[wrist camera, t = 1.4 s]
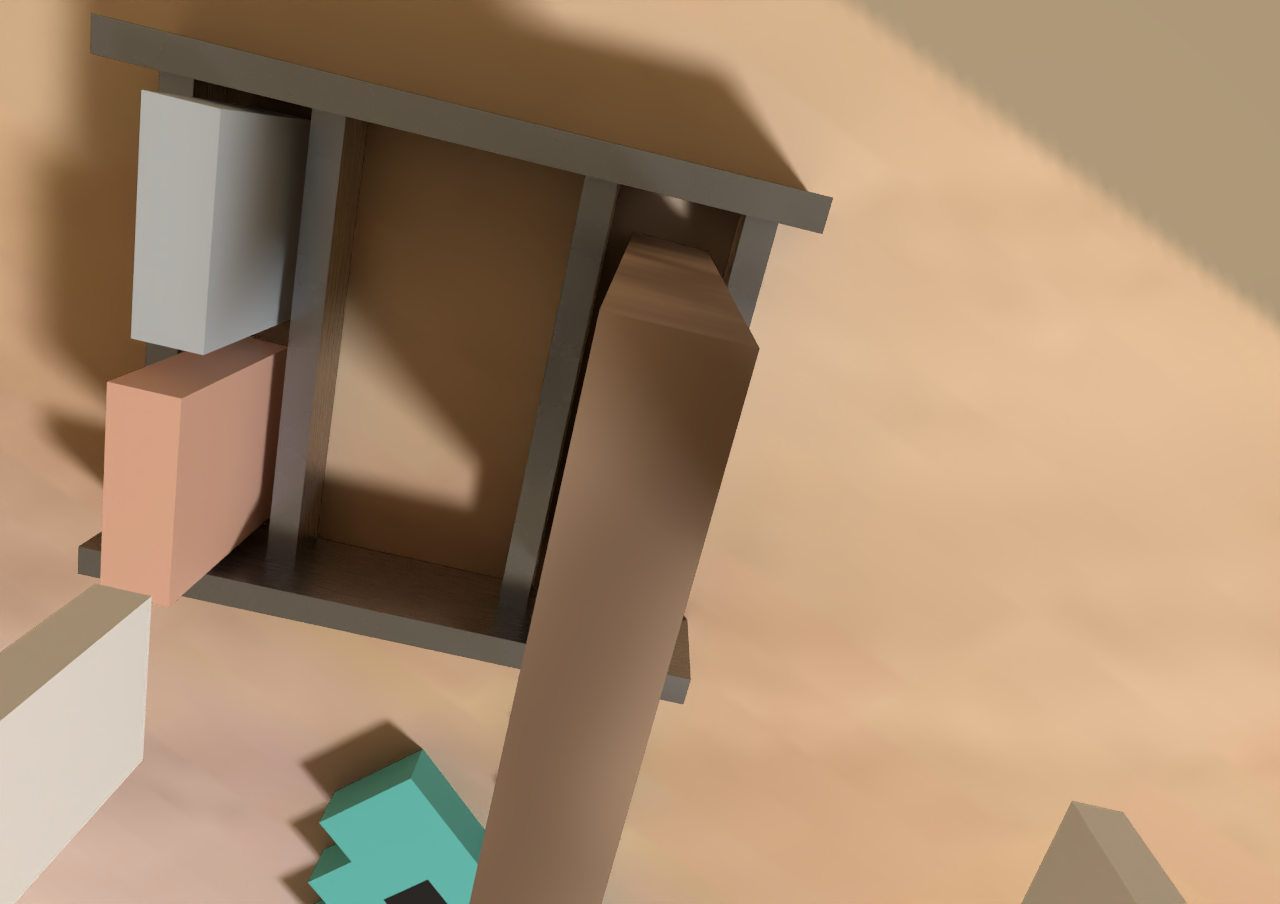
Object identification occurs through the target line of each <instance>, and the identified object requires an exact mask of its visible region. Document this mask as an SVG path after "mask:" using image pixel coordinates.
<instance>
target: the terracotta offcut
mask: <svg viewBox="0 0 1280 904" xmlns="http://www.w3.org/2000/svg"><path fill="white" fill-rule="evenodd" d="M287 350H288V346H284V345H280V344H275V343H271V342H267V341H262V340H258V339H254V338H250V337H246V338H244V339H242V340H239V341H237V342H234V343H232V344H229V345H227V346H224V347H222V348H220V349H217V350H215V351H212V352H210V353H207V354H205V355H200V354H196V353H192V352H187V351H185V352H182V353H180V354H177V355H175V356H172V357H169V358H167V359H164V360H162V361H159V362H156V363H154V364H151V365H149V366H146V367H144V368H141V369H138V370H136V371H133V372H131V373H128V374H126V375H123V376H120V377H118V378H115V379H113V380H110V381H107V395H106V425H105V455H104V484H103V514H102V544H101V573H100V585H104V586H108V587H113V588H117V589H122V590H126V591H131V592H135V593H140V594H144V595H149V596H152V600H151V604H155V605H160V606H164V607H169V606H171V605H172V604H173V603H174V602H175V601H176V600H177V599H178V598H179V597H181V596H182V595H183V594H184V593H185V592H186V591H187V590H188V589H190V588H191V587H192V586H193V585H194V584H195V583H196V582H197V581H199V580H200V579H201V578H202V577H203V576H204V575H205V574H206V573H207V572H209V571H210V570H211V569H212V568H213V567H214V566H215V565H216V564H218V563H219V562H220V561H221V560H222V559H223V558H224V557H225V556H227V555H228V554H229V553H230V552H231V551H232V550H233V549H234V548H235V547H237V546H238V545H239V544H240V543H241V542H242V541H243V540H244V539H246V538H247V537H248V536H249V535H250V534H251V533H252V532H253V531H255V530H256V529H257V528H258V527H259V526H260V525H261V524H262V523H263V522H265V521H266V520H267V519H268V518H269V517H270V516H271V506H272V496H273V486H274V477H275V467H276V457H277V447H278V438H279V428H280V418H281V408H282V399H283V389H284V379H285V369H286V360H287Z"/></svg>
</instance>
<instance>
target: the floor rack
mask: <svg viewBox="0 0 1280 904" xmlns="http://www.w3.org/2000/svg"><path fill="white" fill-rule="evenodd" d="M90 53H91V54H95V55H99V56H103V57H107V58H111V59H115V60H119V61H123V62H127V63H131V64H135V65H140V66H144V67H148V68H152V69H156V70H160V72H159V92H162V93H168V94H175V95H182V96H188V97H195V98H202V99H208V100H215V101H222V102H226V90H227V87H229V88H233V89H237V90H241V91H245V92H249V93H253V94H257V95H261V96H265V97H269V98H273V99H277V100H281V101H286V102H290V103H294V104H298V105H302V106H306V107H310V108H312V116H311V126H310V135H309V145H308V155H307V165H306V174H305V184H304V194H303V204H302V213H301V223H300V233H299V243H298V252H297V262H296V272H295V282H294V291H293V301H292V311H291V321H290V330H289V340H288V350H287V360H286V369H285V379H284V389H283V399H282V408H281V418H280V428H279V438H278V447H277V457H276V467H275V477H274V486H273V496H272V506H271V516H270V525H269V527H265V526H261V525H260V526H259V527H258V528H257V529H256V530H255V531H253V532H252V533H251V534H250V535H249V536H248V537H247V538H246V539H244V540H243V541H242V542H241V543H240V544H239V545H238V546H237V547H235V548H234V549H233V550H232V551H231V552H230V553H229V554H228V555H227V556H225V557H224V558H223V559H222V560H221V561H220V562H219V563H218V564H216V565H215V566H214V567H213V568H212V569H211V570H210V571H209V572H207V573H206V574H205V575H204V576H203V577H202V578H201V579H200V580H199V581H197V582H196V583H195V584H194V585H193V586H192V587H191V588H190V589H188V590H187V591H186V592H185V593H184V594H183V595H182V596H184V597H189V598H193V599H198V600H203V601H207V602H212V603H217V604H221V605H226V606H230V607H235V608H240V609H244V610H249V611H254V612H258V613H263V614H267V615H272V616H277V617H281V618H286V619H291V620H295V621H300V622H305V623H309V624H314V625H318V626H323V627H328V628H332V629H337V630H342V631H346V632H351V633H355V634H360V635H365V636H369V637H374V638H379V639H383V640H388V641H392V642H397V643H402V644H406V645H411V646H416V647H420V648H425V649H429V650H434V651H439V652H443V653H448V654H453V655H457V656H462V657H467V658H471V659H476V660H480V661H485V662H490V663H494V664H499V665H504V666H508V667H513V668H517V669H521V665H522V661H523V656H524V652H525V647H526V643H527V638H528V633H529V629H530V624H531V620H532V615H533V611H534V606H535V602H536V597H537V593H538V588H539V587H536V586H533V585H534V580H535V575H536V571H537V566H538V562H539V557H540V552H541V548H542V543H543V539H544V534H545V529H546V525H547V520H548V516H549V511H550V506H551V502H552V497H553V492H554V488H555V483H556V479H557V474H558V469H559V465H560V460H561V456H562V451H563V446H564V442H565V437H566V433H567V428H568V423H569V419H570V414H571V410H572V405H573V400H574V396H575V391H576V387H577V382H578V377H579V373H580V368H581V364H582V359H583V354H584V350H585V345H586V341H587V336H588V331H589V327H590V322H591V317H592V313H593V308H594V304H595V299H596V294H597V290H598V285H599V281H600V276H601V271H602V267H603V262H604V258H605V253H606V248H607V244H608V239H609V235H610V230H611V225H612V221H613V216H614V212H615V207H616V202H617V198H618V193H619V189H620V184H622V185H626V186H630V187H634V188H638V189H642V190H646V191H650V192H654V193H659V194H663V195H667V196H671V197H675V198H679V199H683V200H687V201H691V202H695V203H699V204H703V205H707V206H711V207H715V208H719V209H723V210H727V211H732V212H736V213H740V217H739V220H738V224H737V228H736V232H735V235H734V239H733V243H732V247H731V251H730V254H729V258H728V262H727V266H726V270H725V273H724V277H723V281H724V283H725V285H726V287H727V289H728V290H729V292H730V294H731V296H732V298H733V300H734V302H735V304H736V305H737V307H738V309H739V311H740V313H741V315H742V317H743V318H744V320H745V322H746V324H747V326H748V328H749V327H750V323H751V320H752V316H753V312H754V309H755V305H756V302H757V298H758V294H759V291H760V287H761V284H762V280H763V276H764V273H765V269H766V266H767V262H768V259H769V255H770V251H771V248H772V244H773V241H774V237H775V233H776V230H777V226H778V223H780V224H784V225H788V226H792V227H796V228H800V229H805V230H809V231H813V232H817V233H821V234H823V230H824V227H825V223H826V220H827V217H828V213H829V210H830V207H831V203H832V200H833V198H832V197H828V196H824V195H820V194H816V193H812V192H808V191H804V190H800V189H795V188H791V187H787V186H783V185H779V184H775V183H771V182H767V181H763V180H759V179H755V178H751V177H747V176H743V175H739V174H735V173H731V172H727V171H723V170H719V169H715V168H711V167H707V166H703V165H699V164H695V163H691V162H687V161H683V160H679V159H675V158H671V157H667V156H663V155H659V154H655V153H651V152H647V151H643V150H639V149H635V148H631V147H627V146H623V145H619V144H615V143H611V142H607V141H603V140H599V139H595V138H591V137H587V136H583V135H579V134H575V133H571V132H567V131H563V130H559V129H555V128H550V127H546V126H542V125H538V124H534V123H530V122H526V121H522V120H518V119H514V118H510V117H506V116H502V115H498V114H494V113H490V112H486V111H482V110H478V109H474V108H470V107H466V106H462V105H458V104H454V103H450V102H446V101H442V100H438V99H434V98H430V97H426V96H422V95H418V94H414V93H410V92H406V91H402V90H398V89H394V88H390V87H386V86H382V85H378V84H374V83H370V82H366V81H362V80H358V79H354V78H350V77H346V76H342V75H338V74H334V73H330V72H326V71H322V70H318V69H314V68H310V67H306V66H301V65H297V64H293V63H289V62H285V61H281V60H277V59H273V58H269V57H265V56H261V55H257V54H253V53H249V52H245V51H241V50H237V49H233V48H229V47H225V46H221V45H217V44H213V43H209V42H205V41H201V40H197V39H193V38H189V37H185V36H181V35H177V34H173V33H169V32H165V31H161V30H157V29H153V28H149V27H145V26H141V25H137V24H133V23H129V22H125V21H121V20H117V19H113V18H109V17H105V16H101V15H97V14H93V13H91V45H90ZM368 122H371V123H375V124H379V125H383V126H387V127H391V128H395V129H399V130H403V131H407V132H411V133H415V134H419V135H423V136H427V137H431V138H436V139H440V140H444V141H448V142H452V143H456V144H460V145H464V146H468V147H472V148H476V149H480V150H484V151H488V152H492V153H496V154H500V155H504V156H509V157H513V158H517V159H521V160H525V161H529V162H533V163H537V164H541V165H545V166H549V167H553V168H557V169H561V170H565V171H569V172H573V173H577V174H582V175H585V179H584V184H583V189H582V194H581V199H580V204H579V209H578V214H577V219H576V224H575V228H574V233H573V238H572V243H571V248H570V253H569V258H568V263H567V268H566V273H565V278H564V282H563V287H562V292H561V297H560V302H559V307H558V312H557V317H556V322H555V327H554V332H553V336H552V341H551V346H550V351H549V356H548V361H547V366H546V371H545V376H544V381H543V386H542V390H541V395H540V400H539V405H538V410H537V415H536V420H535V425H534V430H533V435H532V440H531V444H530V449H529V454H528V459H527V464H526V469H525V474H524V479H523V484H522V489H521V494H520V498H519V503H518V508H517V513H516V518H515V523H514V528H513V533H512V538H511V543H510V548H509V552H508V557H507V562H506V567H505V572H504V577H503V579H500V578H496V577H491V576H487V575H482V574H478V573H473V572H469V571H464V570H460V569H455V568H451V567H446V566H441V565H437V564H432V563H428V562H423V561H419V560H414V559H410V558H405V557H401V556H396V555H392V554H387V553H383V552H378V551H374V550H369V549H365V548H360V547H356V546H351V545H347V544H342V543H338V542H333V541H328V540H324V539H319V538H317V531H318V523H319V515H320V507H321V499H322V491H323V483H324V474H325V466H326V458H327V450H328V442H329V434H330V426H331V417H332V409H333V401H334V393H335V385H336V377H337V369H338V360H339V352H340V344H341V336H342V328H343V320H344V311H345V303H346V295H347V287H348V279H349V271H350V263H351V254H352V246H353V238H354V230H355V222H356V214H357V206H358V197H359V189H360V181H361V173H362V165H363V157H364V149H365V140H366V132H367V124H368ZM182 352H185V351H183V350H179V349H174V348H170V347H166V346H161V345H157V344H153V343H148V342H147V343H146V363H145V367H146V366H149V365H151V364H154V363H156V362H159V361H162V360H164V359H167V358H169V357H172V356H175V355H177V354H180V353H182ZM101 544H102V532H100V533H99V534H97V535H96V536H94V537H93V538H91V539H89V540H88V541H86V542H85V543H83V544H82V545H80V546H79V550H78V574H82V575H87V576H92V577H96V578H100V573H101ZM690 680H691V678H690V660H689V642H688V624H687V620H686V619H682V623H681V626H680V630H679V633H678V637H677V640H676V644H675V647H674V651H673V654H672V658H671V661H670V665H669V668H668V672H667V675H666V679H665V682H664V686H663V689H662V693H661V696H660V699H661V700H666V701H670V702H675V703H679V704H684V700H685V697H686V694H687V690H688V687H689V683H690Z"/></svg>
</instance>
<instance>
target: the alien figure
mask: <svg viewBox="0 0 1280 904" xmlns="http://www.w3.org/2000/svg"><path fill="white" fill-rule="evenodd" d="M319 823H320V825H321V826H322V827H323V828H324V829H325V831H326V832H327V833H328V834H329V835H330V837H331V838H332V839H333V840H334V841H335V843H336V844H335V845H333V846H330V847H328V848H326V849H324V851H323V853H322V855H321V857H320V859H319V861H318V863H317V865H316V867H315V869H314V871H313V873H312V875H311V877H310V879H309V881H308V883H309V885H310V886H311V887H312V888H313V889H314V890H315V891H316V893H317V894H318V895H319V896H320V897H321V898H322V901H320V902H317V903H315V904H469V902H470V898H471V893H472V889H473V884H474V879H475V875H476V870H477V866H478V861H479V857H480V852H481V848H482V843H483V838H484V834H485V830H484V828H483V827H482V826H481V824H480V823H479V822H478V821H477V819H476V818H475V817H474V815H473V814H472V813H471V811H470V810H469V809H468V807H467V806H466V805H465V804H464V802H463V801H462V800H461V798H460V797H459V796H458V794H457V793H456V792H455V791H454V789H453V788H452V787H451V785H450V784H449V783H448V781H447V780H446V779H445V777H444V776H443V775H442V774H441V772H440V771H439V770H438V768H437V767H436V766H435V764H434V763H433V762H432V760H431V759H430V758H429V757H428V755H427V754H426V753H425V751H424V750H423V749H422V750H420V751H418V752H416V753H414V754H412V755H410V756H408V757H406V758H404V759H401V760H399V761H397V762H395V763H393V764H391V765H389V766H387V767H385V768H383V769H381V770H379V771H377V772H375V773H373V774H371V775H369V776H367V777H365V778H362V779H360V780H358V781H356V782H354V783H352V784H350V785H348V786H346V787H344V788H342V789H340V790H338V791H336V792H335V793H334V795H333V797H332V799H331V801H330V803H329V805H328V806H327V808H326V810H325V812H324V814H323V816H322V818H321V820H320V822H319Z"/></svg>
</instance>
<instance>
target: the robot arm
mask: <svg viewBox="0 0 1280 904" xmlns="http://www.w3.org/2000/svg"><path fill="white" fill-rule="evenodd" d="M151 600H152V596H149V595H144V594H140V593H135V592H131V591H126V590H122V589H117V588H113V587H108V586H104V585H99V584H94V585H93V586H92V587H90V588H89V589H87V590H86V591H85V592H83V593H82V594H80V595H79V596H78V597H76V598H75V599H74V600H72V601H71V602H69V603H68V604H67V605H65V606H64V607H62V608H61V609H60V610H58V611H57V612H56V613H54V614H53V615H51V616H50V617H49V618H47V619H46V620H44V621H43V622H42V623H40V624H39V625H38V626H36V627H35V628H33V629H32V630H31V631H29V632H28V633H26V634H25V635H24V636H22V637H21V638H20V639H18V640H17V641H15V642H14V643H13V644H11V645H10V646H8V647H7V648H6V649H4V650H3V651H2V652H0V904H14V903H15V902H16V901H17V900H18V899H19V898H20V897H21V896H22V894H23V893H24V892H25V891H26V890H27V889H28V888H29V887H30V885H31V884H32V883H33V882H34V881H35V880H36V879H37V878H38V877H39V875H40V874H41V873H42V872H43V871H44V870H45V869H46V868H47V866H48V865H49V864H50V863H51V862H52V861H53V860H54V859H55V857H56V856H57V855H58V854H59V853H60V852H61V851H62V850H63V849H64V847H65V846H66V845H67V844H68V843H69V842H70V841H71V840H72V838H73V837H74V836H75V835H76V834H77V833H78V832H79V831H80V829H81V828H82V827H83V826H84V825H85V824H86V823H87V822H88V821H89V819H90V818H91V817H92V816H93V815H94V814H95V813H96V812H97V810H98V809H99V808H100V807H101V806H102V805H103V804H104V803H105V802H106V800H107V799H108V798H109V797H110V796H111V795H112V794H113V793H114V791H115V790H116V789H117V788H118V787H119V786H120V785H121V784H122V782H123V781H124V780H125V779H126V778H127V777H128V776H129V775H130V774H131V772H132V771H133V770H134V769H135V768H136V767H137V766H138V765H139V763H140V762H141V761H142V760H143V747H144V729H145V711H146V692H147V674H148V655H149V637H150V618H151ZM1022 904H1187V903H1186V901H1185V900H1184V898H1183V897H1182V895H1181V894H1180V893H1179V891H1178V890H1177V888H1176V887H1175V885H1174V884H1173V883H1172V881H1171V880H1170V878H1169V877H1168V875H1167V874H1166V873H1165V871H1164V870H1163V868H1162V867H1161V865H1160V864H1159V863H1158V861H1157V860H1156V858H1155V857H1154V855H1153V854H1152V853H1151V851H1150V850H1149V848H1148V847H1147V845H1146V844H1145V843H1144V841H1143V840H1142V838H1141V837H1140V835H1139V834H1138V833H1137V831H1136V830H1135V828H1134V827H1133V825H1132V824H1131V823H1130V821H1129V820H1128V818H1127V817H1126V815H1125V814H1124V813H1123V812H1120V811H1115V810H1111V809H1106V808H1102V807H1097V806H1093V805H1088V804H1084V803H1079V802H1075V801H1072V802H1071V804H1070V806H1069V808H1068V810H1067V812H1066V814H1065V816H1064V818H1063V820H1062V822H1061V824H1060V826H1059V828H1058V830H1057V832H1056V835H1055V837H1054V839H1053V841H1052V843H1051V845H1050V847H1049V849H1048V851H1047V853H1046V855H1045V857H1044V859H1043V861H1042V863H1041V865H1040V867H1039V869H1038V871H1037V873H1036V875H1035V877H1034V879H1033V881H1032V883H1031V885H1030V887H1029V889H1028V891H1027V893H1026V895H1025V897H1024V900H1023V902H1022Z"/></svg>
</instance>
